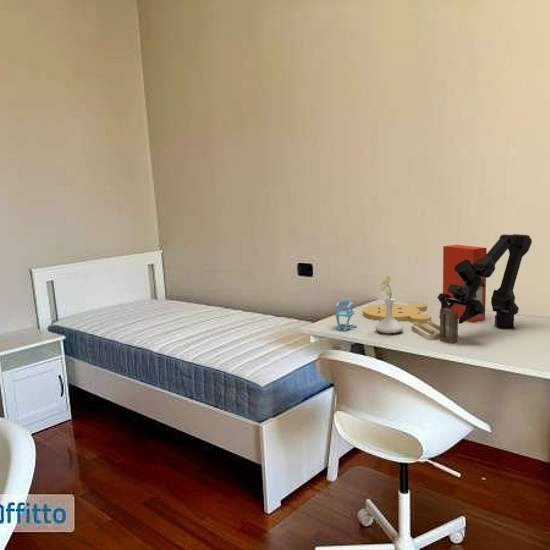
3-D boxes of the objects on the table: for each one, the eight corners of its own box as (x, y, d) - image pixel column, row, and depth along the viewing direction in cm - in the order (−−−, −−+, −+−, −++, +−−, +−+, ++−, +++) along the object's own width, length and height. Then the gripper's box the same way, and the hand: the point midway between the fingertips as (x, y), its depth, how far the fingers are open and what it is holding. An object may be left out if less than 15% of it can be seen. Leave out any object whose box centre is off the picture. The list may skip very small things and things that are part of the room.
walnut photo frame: (445, 339, 205) (445, 307, 203) (457, 342, 200) (458, 310, 198) (439, 340, 204) (440, 308, 202) (452, 344, 199) (452, 311, 196)
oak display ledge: (431, 328, 221) (431, 320, 220) (450, 337, 206) (450, 329, 206) (411, 330, 219) (411, 322, 219) (428, 340, 205) (428, 331, 204)
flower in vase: (376, 327, 225) (376, 269, 221) (403, 328, 222) (404, 270, 218) (373, 336, 213) (373, 275, 209) (402, 337, 210) (402, 275, 206)
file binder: (471, 323, 227) (473, 249, 221) (442, 315, 242) (443, 245, 237) (485, 320, 230) (487, 247, 225) (455, 312, 245) (456, 244, 240)
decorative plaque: (361, 323, 234) (431, 324, 228) (361, 318, 233) (431, 319, 227) (364, 307, 264) (426, 308, 258) (364, 302, 263) (426, 303, 257)
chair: (332, 330, 224) (332, 303, 221) (339, 325, 231) (339, 298, 229) (350, 332, 220) (349, 304, 218) (356, 327, 227) (356, 300, 225)
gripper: (441, 273, 209) (420, 304, 205) (480, 279, 193) (459, 312, 189) (454, 290, 214) (434, 320, 210) (494, 297, 198) (473, 330, 194)
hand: (449, 320), depth 201 cm, fingers open, 9 cm apart
